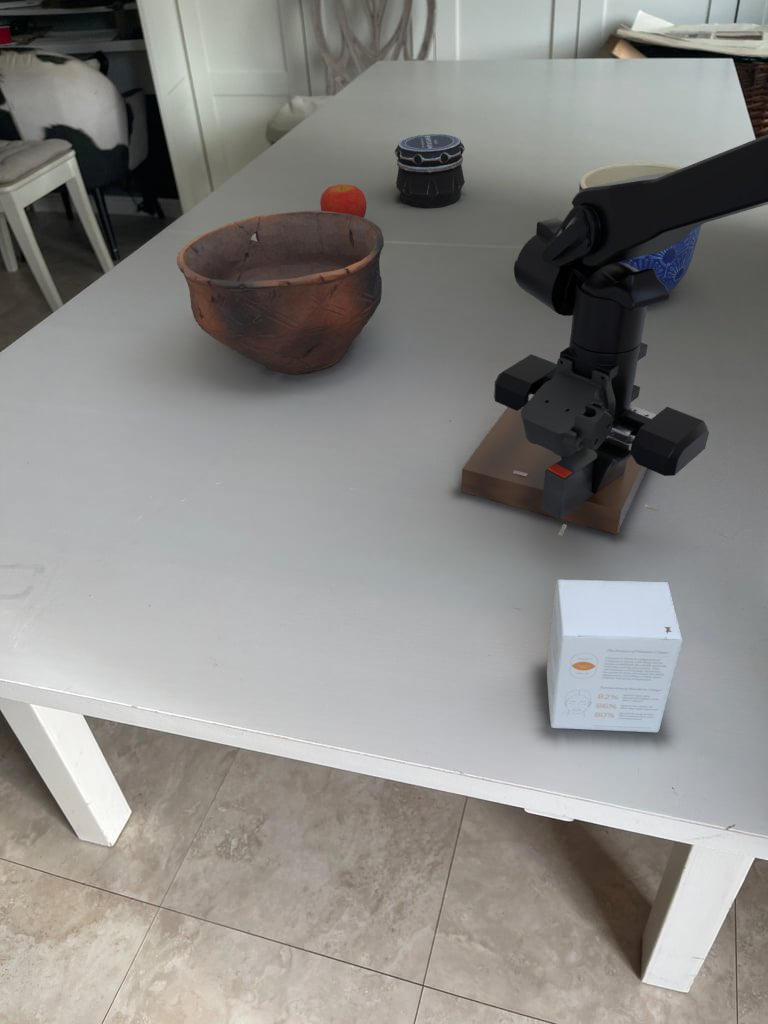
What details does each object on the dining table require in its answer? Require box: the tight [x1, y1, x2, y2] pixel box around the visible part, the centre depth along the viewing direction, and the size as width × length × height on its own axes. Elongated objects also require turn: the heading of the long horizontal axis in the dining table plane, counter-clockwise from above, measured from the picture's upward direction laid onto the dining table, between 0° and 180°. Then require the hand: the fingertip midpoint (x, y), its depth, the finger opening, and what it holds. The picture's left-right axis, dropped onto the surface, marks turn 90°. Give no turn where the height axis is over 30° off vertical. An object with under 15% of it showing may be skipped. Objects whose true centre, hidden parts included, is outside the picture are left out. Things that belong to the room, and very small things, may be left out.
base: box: [461, 406, 661, 536], centre depth 80 cm, size 19×19×3 cm
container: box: [394, 133, 466, 209], centre depth 148 cm, size 13×13×10 cm
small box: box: [546, 578, 683, 733], centre depth 58 cm, size 8×6×10 cm
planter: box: [578, 162, 702, 293], centre depth 112 cm, size 17×17×15 cm
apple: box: [319, 184, 367, 218], centre depth 138 cm, size 8×8×8 cm
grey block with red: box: [541, 448, 627, 520], centre depth 75 cm, size 10×2×5 cm, turn 132°
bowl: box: [176, 210, 385, 375], centre depth 102 cm, size 25×25×15 cm
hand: (584, 486), depth 77 cm, fingers closed on grey block with red, 2 cm apart
